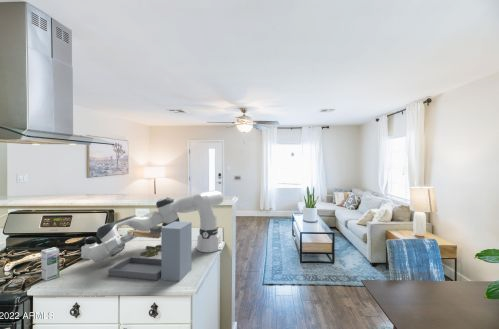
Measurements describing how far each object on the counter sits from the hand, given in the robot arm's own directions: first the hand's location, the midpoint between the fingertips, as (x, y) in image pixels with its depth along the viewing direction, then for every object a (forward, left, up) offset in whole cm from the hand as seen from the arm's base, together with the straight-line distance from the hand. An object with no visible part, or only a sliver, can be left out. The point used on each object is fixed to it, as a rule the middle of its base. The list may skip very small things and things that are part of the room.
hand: (135, 232), depth 139 cm
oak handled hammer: (0, +5, -2) cm, 5 cm away
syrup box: (+16, -37, -21) cm, 45 cm away
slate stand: (0, +24, -20) cm, 32 cm away
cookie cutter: (-28, -7, -21) cm, 36 cm away
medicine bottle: (-12, -39, -21) cm, 46 cm away
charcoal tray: (0, +4, -20) cm, 21 cm away
